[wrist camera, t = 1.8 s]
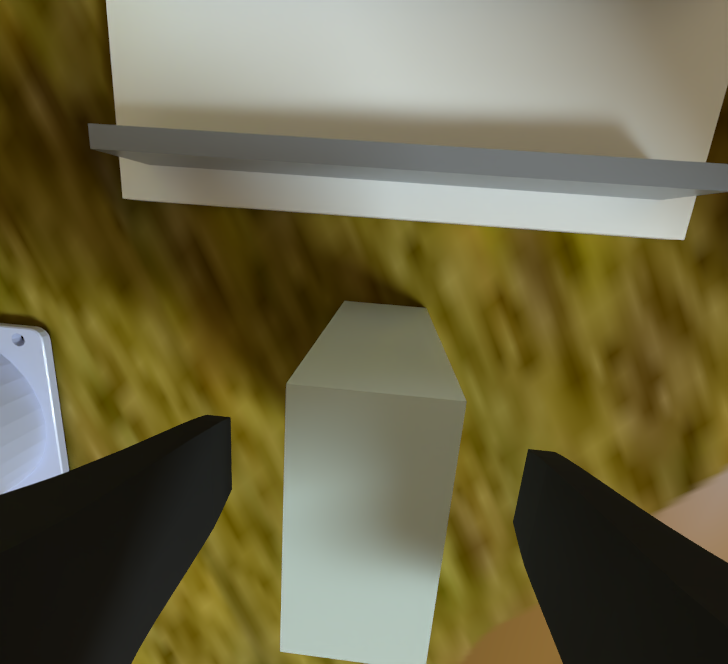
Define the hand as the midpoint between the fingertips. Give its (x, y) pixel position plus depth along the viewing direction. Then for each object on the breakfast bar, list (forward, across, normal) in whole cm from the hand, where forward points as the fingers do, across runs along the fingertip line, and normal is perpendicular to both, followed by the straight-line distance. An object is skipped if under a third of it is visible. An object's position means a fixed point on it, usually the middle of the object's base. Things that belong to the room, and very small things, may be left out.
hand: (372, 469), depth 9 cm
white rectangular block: (+6, 0, 0) cm, 6 cm away
